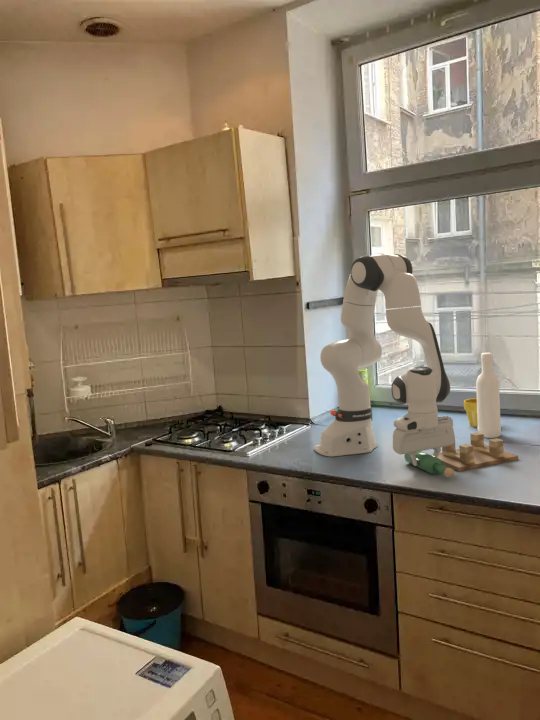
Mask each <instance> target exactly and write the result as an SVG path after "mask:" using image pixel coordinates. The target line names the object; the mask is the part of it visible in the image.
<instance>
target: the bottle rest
mask: <svg viewBox="0 0 540 720" xmlns="http://www.w3.org/2000/svg"><path fill="white" fill-rule="evenodd" d="M469 439H470V444H469V443H465V444H459V446H458V447H459V448H458V449H456V441H455V442H454V444H453V445H450V446H445V447H441V450H442V451H440V453H439V455H438V459H440V460H441V461H442V462H443V466H446V467H449V468H451V469H453V470H454V471H457V472H462V471H467V470H474V469H478V468H483V467H487V466H488V467H489V466H493V465H498V464H502V463H507V462H512V461H516V460H519V455H517V454H514V453H511V452H508V451H506V450H504V440H503V439H501V438H498V437H496V438H490V439H489V440H488V444H485V438H484V434H482V433H479V432H478V431H477V432H471V433H470V438H469ZM430 455H431V456H432V455H433V453H431V454H430Z"/></svg>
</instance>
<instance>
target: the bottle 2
mask: <svg viewBox="0 0 540 720" xmlns="http://www.w3.org/2000/svg"><path fill="white" fill-rule="evenodd" d="M493 357H494V356H493V353H492V352H482V353H481V355H480V359H481V373H480V374H479V375H478V376H477V378H476V381H475V385H476V387H475V388H476V389H475V390H476V398H477V419H478V427H477V432H479V433H482V434H484V439H485V438H486V439H496V438H500V436H501V435H502V427H501V425H502V424H501V401H500V400H501V399H500V395H501V394H500V381H499V379H498V376H497V375H496V374H495V372H493Z"/></svg>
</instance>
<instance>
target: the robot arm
mask: <svg viewBox="0 0 540 720" xmlns="http://www.w3.org/2000/svg"><path fill="white" fill-rule="evenodd" d="M379 291H381V292H382V294H383V296H384V306H385V316H386V322H387V323H386V324H387V326H388V327H389V328H390V330H391V331H392V332H393V333H395V334H397V335H399V336H401V337H404V338H408V339H411V340H414V341H415V342H418V343H419V344H420V345H421V347H422V349H423V353H424V359H425V362H426V366H424V365H416V366H413V367H409V368H408V369H407V373H406V372H405V374H401V375H399V376H396V377H395V378H394V379H393V381H392V383H391V396H392V398H393V400H394V401H395V402H396V403H397V404H398V405H399V404H400V405H403V406H406V405H408V410H407V413H406V414H404V415H403V416H402V417H401V416H400V417H399V418H397V419H396V420H394V422H393V426H394V428H395V429H394V430H393V433H392V449H393V451H394V452H395V453H396V454H398V455H405V454H407V453H409V455H410V457H411V458H412V460H413V466H414V467H417V465H420V463H419V462H420V460H419V459H417V458H416V457H415V455H416V452H418V451H422V452H424V451H427V450H433V453H432V454H433V455H432V456H434V457H436V458H438V455H439V453H441V452H442V451H441V450H442V447H445V446H450V445H453V444H454V442H455V443H456V437H455V431H454V422H453V420H454V419H452V417H451V416H449V415H444V416H439V411H438V406H437V403H442V402H444V401H445V400H446V399H447V397H448V396H449V395H450V392H451V383H450V380H449V378H448V377H449V376H448V375H447V372H446V369H445V366H444V362H443V358H442V354H441V350H440V346H439V341H438V338H437V334H436V330H435V328H434V326H433V325H432V323H431V322H429V321H427V320H426V318H425V316H424V314H423V311H422V303H421V302H422V301H421V294H420V290H419V285H418V281H417V279H416V277H415V276H414V275H413V264H412V262H411V260H410V259H409V258H408V257H407V256H405V255H403V254H398V253H396V254H392V253H391V254H389V253H380V254H374V255H373V254H372V255H363V256H360V257H357V258H356V259H355V260H354V261H353V262H352V264H351V267H350V274H349V277H348V279H347V282H346V286H345V290H344V295H343V301H342V306H341V307H342V309H341V314H340V321H341V324H342V325H343V326H344V327H345V328H346V329H347V334H348V335H347V339H342V340H336V341H334V342H331V343H329V344H327V345H325V346H323V348H322V349H321V352H320V355H319V356H320V362H321V365H322V367H323V369H325V371H327V372H328V373H329V374H330V375H331V376H332V378H333V380H334V381H335V384H336V387H337V393H338V394H337V395H338V406H339V408H338V409H337V410H335V409H331V410H330V411H329V413H330V415H331V416H333V417H335V419H334V420H333V421H332V422H331V423H330V424H329V425H328V426H327V427H326V428H324V430H322V432H321V436H320V444H316V445H314V451H315V452H316V453H317V454H319V455H322V456H325V457H339V456H347V455H358V454H367V453H371V452H372V451H373V449H376V448H377V447H378V443H377V439H376V437H375V432H374V428H373V410H372V406H371V395H370V394H371V392H370V386H369V385H368V383H367V382H366V381H364V380H363V379H362V378H361V376H360V373H359V369H363V368H367V367H370V366H372V365H374V364H375V363H377V362H379V360H380V359H381V358H382V353H383V350H382V346H381V343H380V342H379V340H377V338H376V337H375V332H374V317H375V310H376V309H375V308H376V302H377V296H378V292H379Z"/></svg>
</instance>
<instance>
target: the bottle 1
mask: <svg viewBox="0 0 540 720" xmlns="http://www.w3.org/2000/svg"><path fill="white" fill-rule="evenodd" d="M403 455H404V460H405V462H407V463H408V464H411V465H413V460H412V458H411V457H410V455H409V453H407V454H403ZM415 457H416V458H417V459H419V460H420V462H419V463H420V465H417V466H416V467H417V468H419V469H421V470H423V471H425V472H427V473H429V474H431V475H434V476H436V475H439V474H442V475H444V476H445V477H446V478H453V476H454V475H455V470H454V469H452V468H450V467H447V466H445V465H443V462H442V461H441V460H440V459H438V458H436V457H434V456H431V454H429V453H426V452H424V451H418V452H416V455H415ZM413 466H414V465H413Z"/></svg>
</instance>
